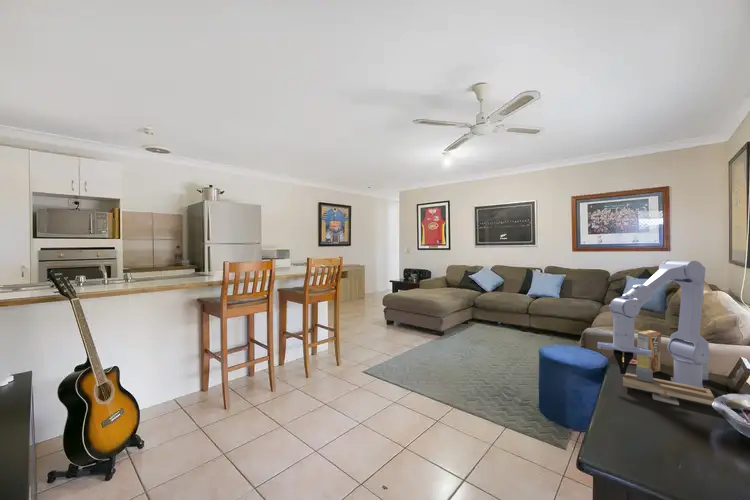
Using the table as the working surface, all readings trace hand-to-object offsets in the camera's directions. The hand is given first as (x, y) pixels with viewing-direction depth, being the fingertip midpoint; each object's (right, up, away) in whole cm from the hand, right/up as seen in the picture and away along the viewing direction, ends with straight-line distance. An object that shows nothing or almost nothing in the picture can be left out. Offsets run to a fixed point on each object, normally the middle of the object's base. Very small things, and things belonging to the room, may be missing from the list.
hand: (623, 373), depth 109 cm
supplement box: (+35, -6, +10) cm, 36 cm away
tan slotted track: (+8, -5, -7) cm, 12 cm away
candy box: (+23, -6, +16) cm, 29 cm away
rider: (+4, -2, -3) cm, 6 cm away
